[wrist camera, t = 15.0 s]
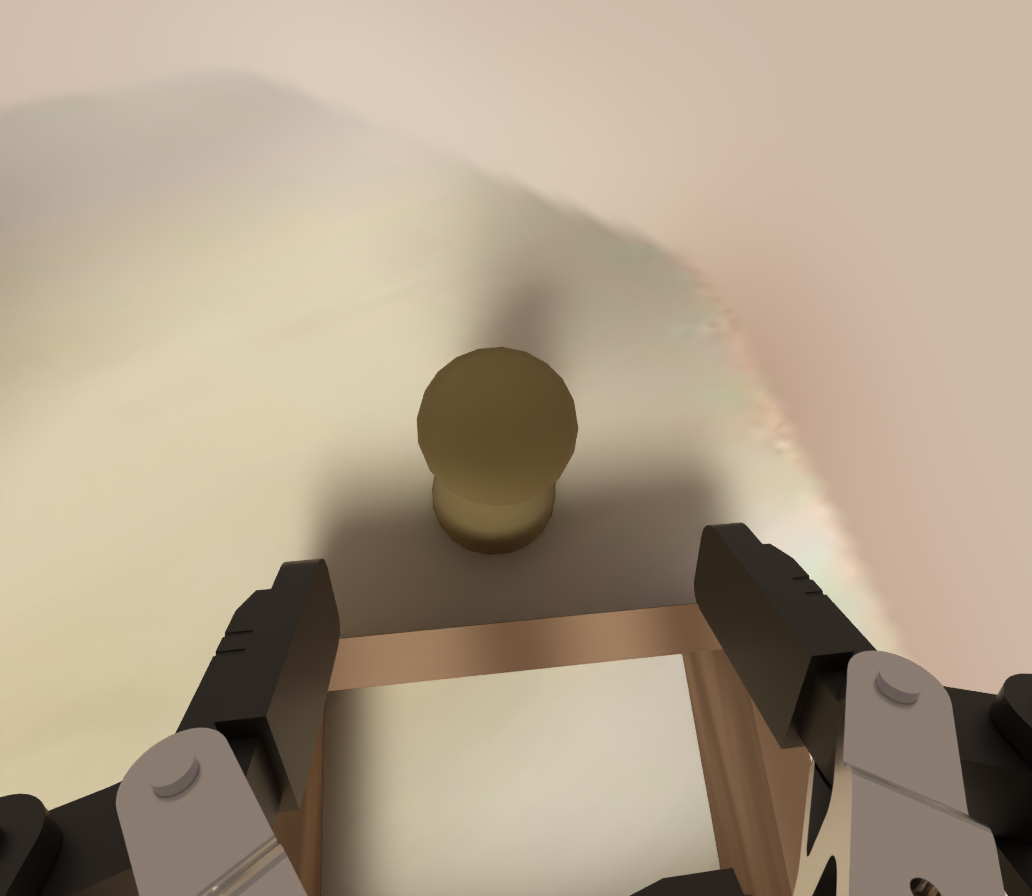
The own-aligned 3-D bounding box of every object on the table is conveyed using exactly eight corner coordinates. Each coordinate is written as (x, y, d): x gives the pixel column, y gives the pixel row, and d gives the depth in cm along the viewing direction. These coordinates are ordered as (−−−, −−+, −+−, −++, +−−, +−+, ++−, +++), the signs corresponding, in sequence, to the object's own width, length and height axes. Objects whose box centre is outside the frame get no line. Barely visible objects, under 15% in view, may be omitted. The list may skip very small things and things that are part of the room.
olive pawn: (485, 412, 27) (485, 282, 17) (579, 484, 26) (639, 393, 16) (406, 501, 26) (351, 418, 15) (503, 581, 25) (515, 550, 14)
